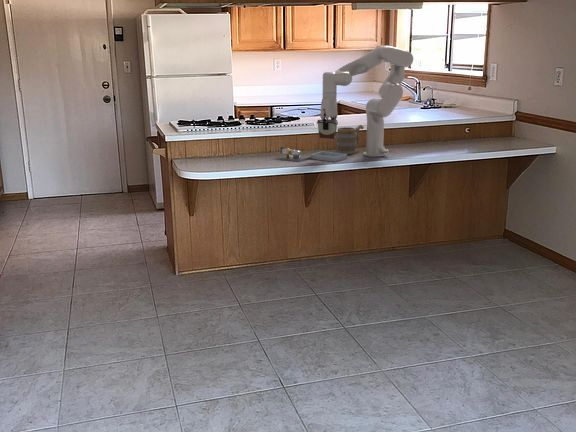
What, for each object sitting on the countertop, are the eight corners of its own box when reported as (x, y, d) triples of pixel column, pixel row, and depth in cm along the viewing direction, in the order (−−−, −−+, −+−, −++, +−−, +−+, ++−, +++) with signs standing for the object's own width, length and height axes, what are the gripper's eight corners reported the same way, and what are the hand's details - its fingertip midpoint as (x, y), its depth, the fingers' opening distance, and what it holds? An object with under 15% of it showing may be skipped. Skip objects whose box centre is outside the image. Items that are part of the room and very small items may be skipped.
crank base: (311, 158, 335) (311, 147, 334) (299, 161, 326) (298, 150, 325) (293, 156, 343) (293, 145, 341) (280, 159, 334) (280, 148, 332)
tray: (347, 158, 334) (347, 154, 333) (335, 161, 325) (335, 157, 325) (322, 155, 344) (322, 151, 343) (310, 158, 335) (310, 154, 334)
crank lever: (301, 156, 335) (301, 148, 333) (298, 157, 331) (298, 149, 330) (282, 154, 341) (282, 146, 340) (278, 155, 338) (278, 147, 337)
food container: (341, 138, 331) (342, 119, 328) (336, 139, 326) (337, 121, 323) (321, 136, 337) (321, 118, 334) (316, 138, 332) (316, 119, 329)
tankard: (345, 155, 345) (345, 128, 341) (331, 152, 355) (331, 126, 351) (370, 151, 356) (371, 125, 352) (356, 148, 366) (356, 123, 362)
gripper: (332, 94, 334) (332, 126, 339) (314, 96, 321) (314, 130, 326) (344, 94, 329) (343, 127, 334) (326, 97, 316) (325, 131, 321)
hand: (329, 128), depth 330 cm, fingers closed on food container, 6 cm apart
